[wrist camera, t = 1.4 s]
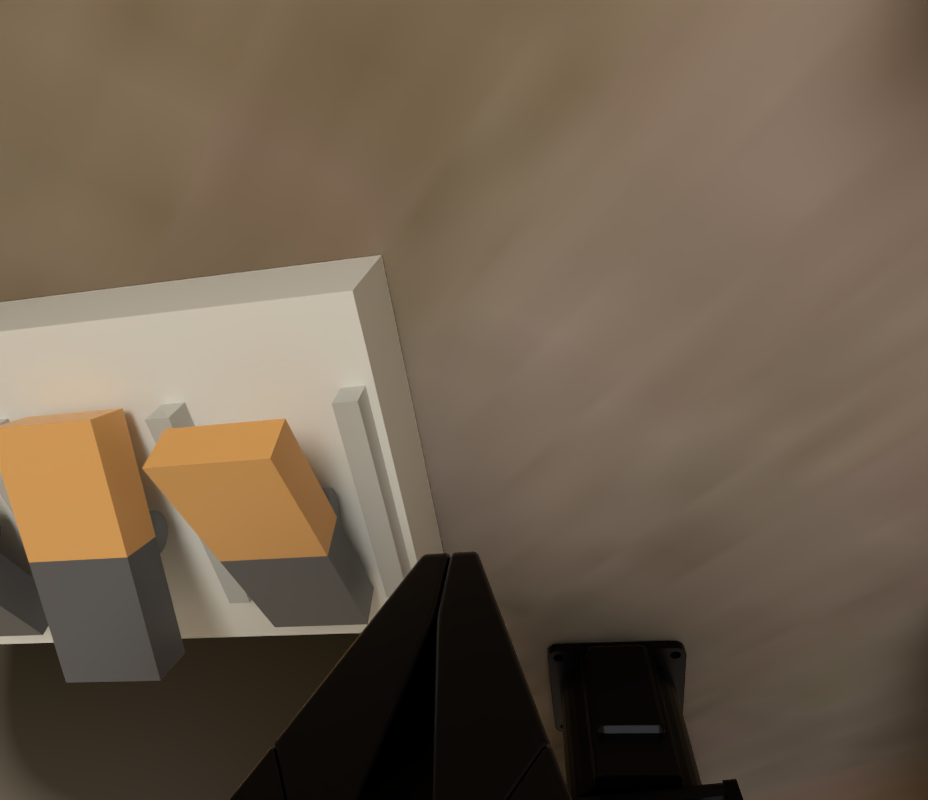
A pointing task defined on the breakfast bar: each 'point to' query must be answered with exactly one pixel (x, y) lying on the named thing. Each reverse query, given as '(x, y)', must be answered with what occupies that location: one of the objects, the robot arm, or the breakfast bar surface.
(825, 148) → the breakfast bar surface
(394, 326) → the switch box
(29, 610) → the block
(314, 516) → the rocker
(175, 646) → the block
